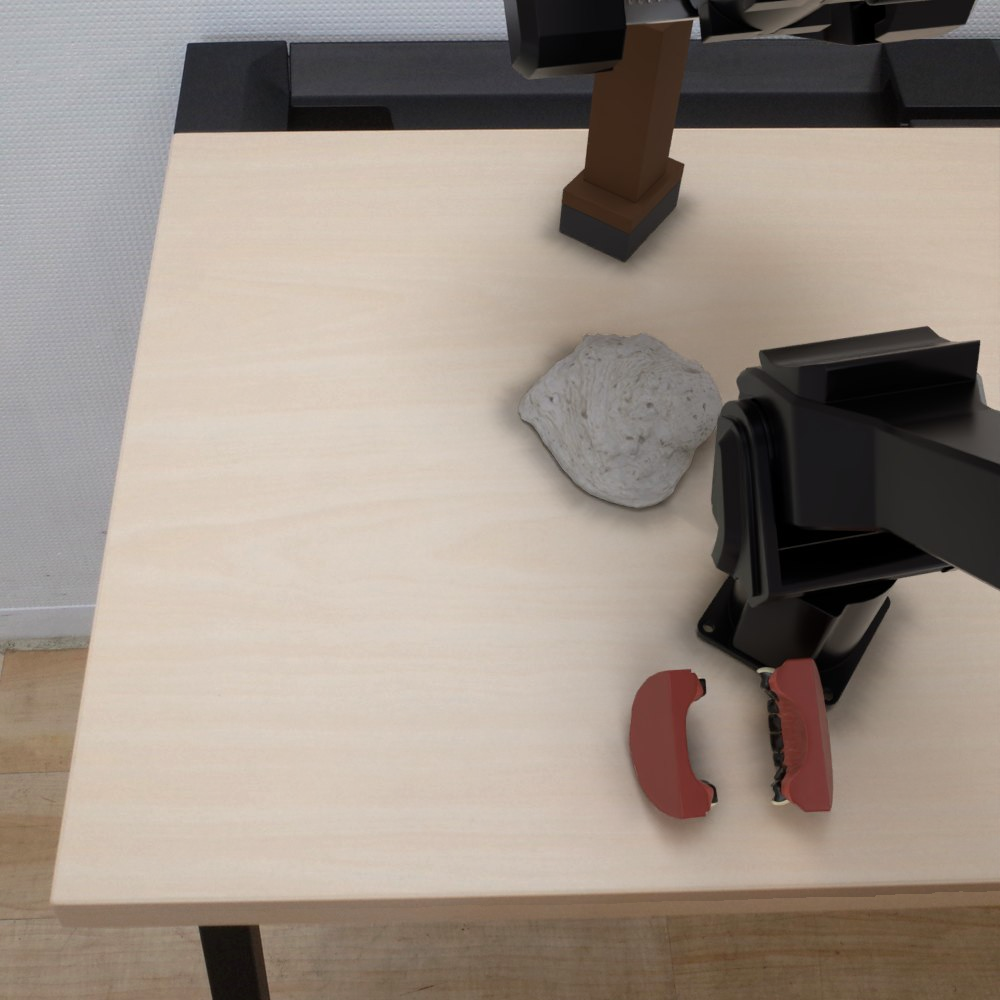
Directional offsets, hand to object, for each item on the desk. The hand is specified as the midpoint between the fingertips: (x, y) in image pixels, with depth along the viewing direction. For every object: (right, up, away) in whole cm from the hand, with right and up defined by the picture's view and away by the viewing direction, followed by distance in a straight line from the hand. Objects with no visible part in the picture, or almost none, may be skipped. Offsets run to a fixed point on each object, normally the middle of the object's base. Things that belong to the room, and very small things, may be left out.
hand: (671, 27), depth 50 cm
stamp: (-1, -6, +13) cm, 14 cm away
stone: (-2, -18, +4) cm, 19 cm away
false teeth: (-3, -31, -8) cm, 32 cm away
